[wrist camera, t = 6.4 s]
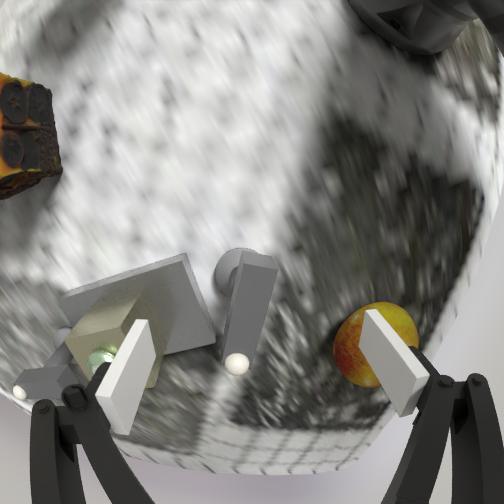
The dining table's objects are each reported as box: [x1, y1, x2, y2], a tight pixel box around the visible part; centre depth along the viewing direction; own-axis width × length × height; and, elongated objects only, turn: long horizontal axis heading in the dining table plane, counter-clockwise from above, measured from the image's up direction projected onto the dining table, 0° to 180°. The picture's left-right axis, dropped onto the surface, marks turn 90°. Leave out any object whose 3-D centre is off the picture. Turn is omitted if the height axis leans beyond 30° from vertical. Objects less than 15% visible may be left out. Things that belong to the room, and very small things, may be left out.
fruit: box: [333, 302, 419, 388], centre depth 27 cm, size 10×9×8 cm
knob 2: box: [215, 248, 278, 376], centre depth 23 cm, size 8×5×10 cm, turn 168°
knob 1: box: [13, 327, 79, 400], centre depth 24 cm, size 8×5×10 cm, turn 106°
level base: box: [59, 253, 216, 388], centre depth 23 cm, size 15×9×11 cm, turn 106°
